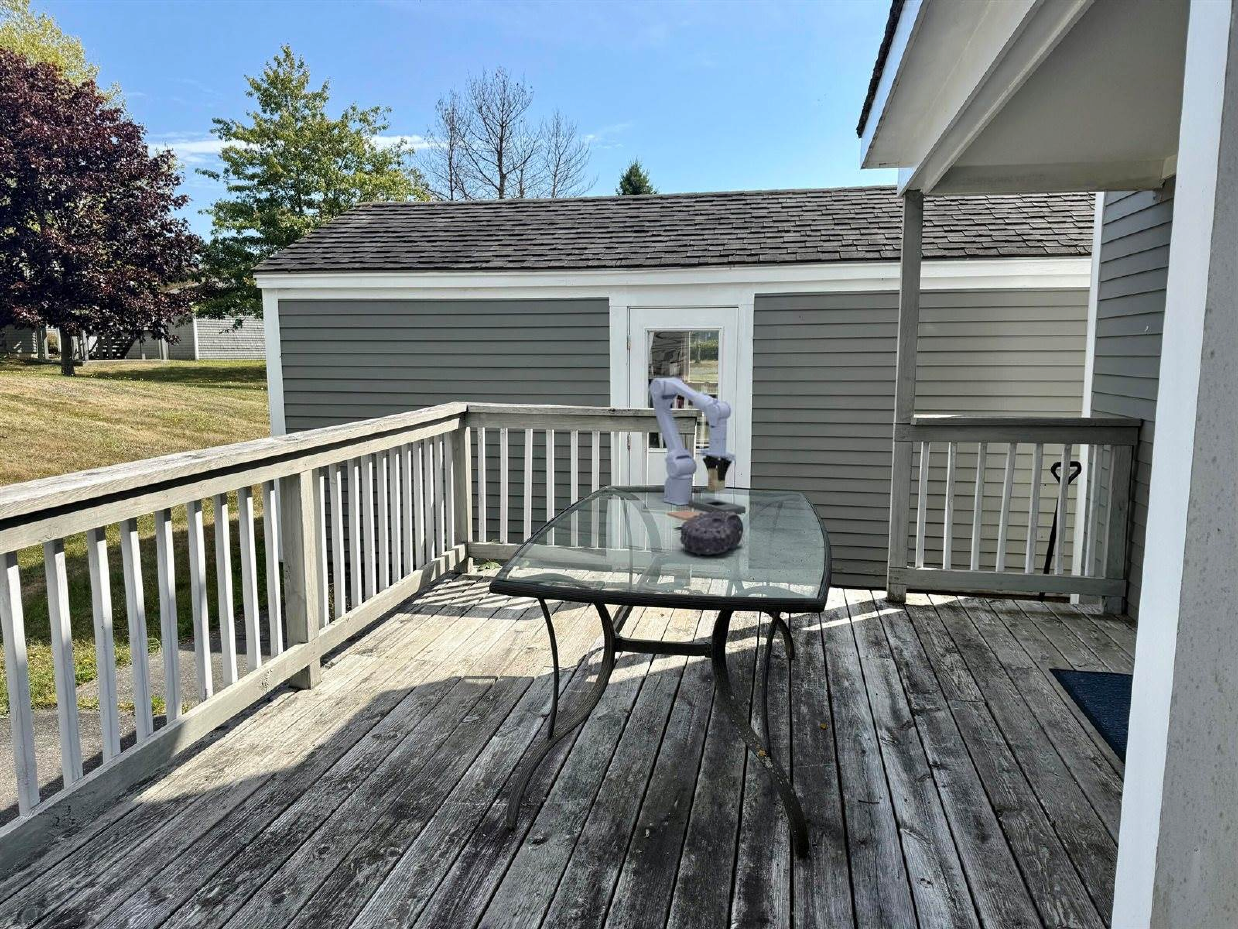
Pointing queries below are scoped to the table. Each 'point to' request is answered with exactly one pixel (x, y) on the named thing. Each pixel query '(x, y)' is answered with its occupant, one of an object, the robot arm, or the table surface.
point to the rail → (715, 506)
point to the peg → (715, 480)
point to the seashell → (712, 532)
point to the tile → (684, 514)
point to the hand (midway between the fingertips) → (716, 479)
